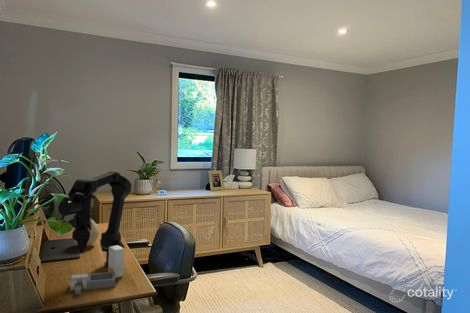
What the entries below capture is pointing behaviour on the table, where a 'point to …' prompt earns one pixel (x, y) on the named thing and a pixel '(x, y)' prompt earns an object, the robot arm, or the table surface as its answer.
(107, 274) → the socket
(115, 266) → the skincare box
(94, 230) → the fossilized egg
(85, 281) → the pin mount
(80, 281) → the lock pin
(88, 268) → the table surface
